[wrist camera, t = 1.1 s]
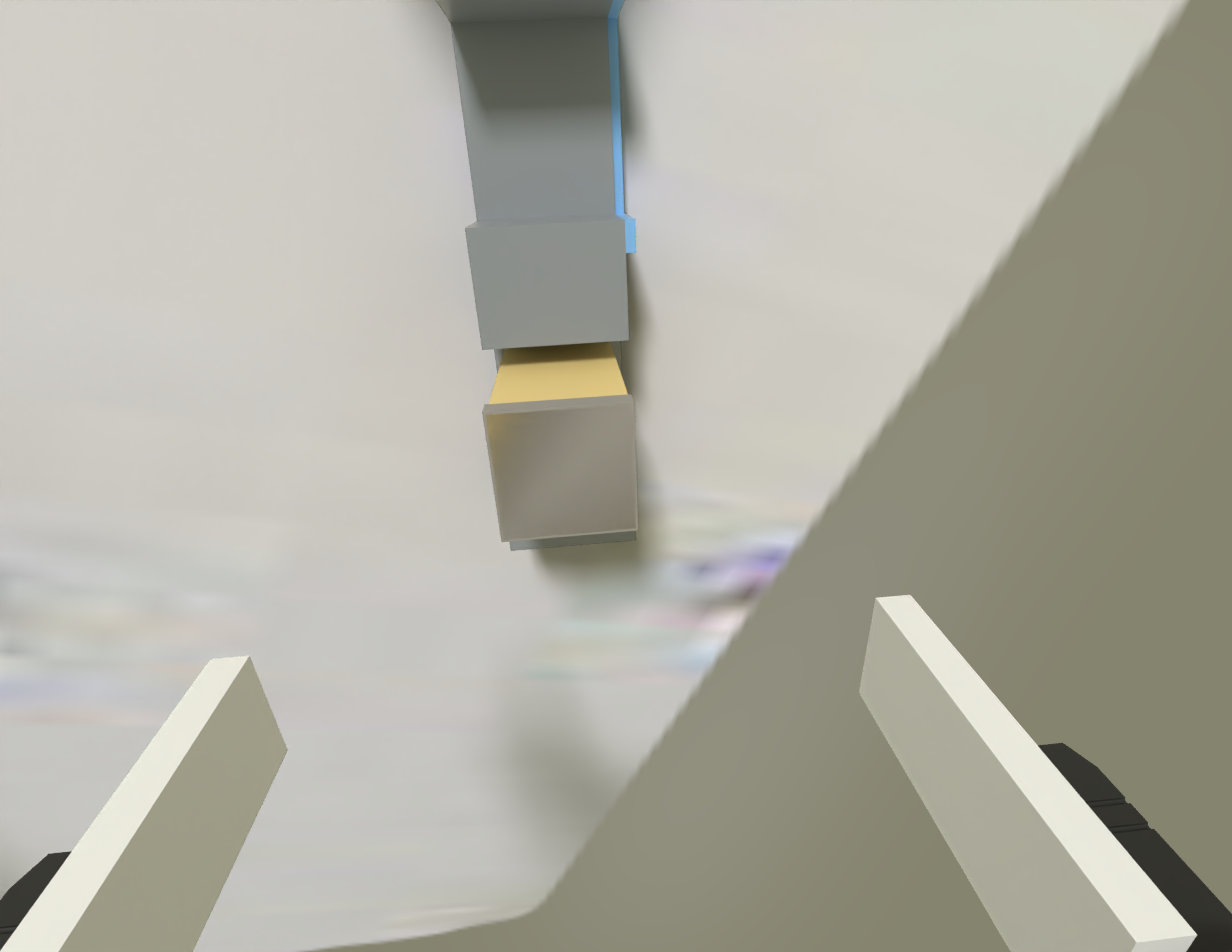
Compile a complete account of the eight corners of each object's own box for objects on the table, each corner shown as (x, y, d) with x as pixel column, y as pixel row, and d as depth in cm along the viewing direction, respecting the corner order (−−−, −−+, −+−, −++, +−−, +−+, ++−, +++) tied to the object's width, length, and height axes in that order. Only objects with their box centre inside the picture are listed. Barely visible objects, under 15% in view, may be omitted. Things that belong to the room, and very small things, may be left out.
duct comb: (516, 499, 34) (510, 550, 29) (443, -58, 23) (416, -117, 19) (631, 489, 34) (644, 539, 30) (611, -62, 24) (626, -121, 19)
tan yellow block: (515, 447, 31) (501, 541, 23) (502, 346, 29) (482, 412, 21) (616, 440, 31) (638, 530, 23) (612, 339, 29) (634, 401, 21)
